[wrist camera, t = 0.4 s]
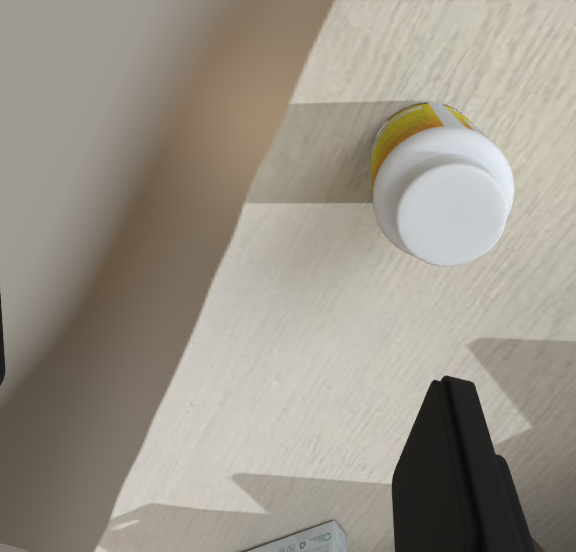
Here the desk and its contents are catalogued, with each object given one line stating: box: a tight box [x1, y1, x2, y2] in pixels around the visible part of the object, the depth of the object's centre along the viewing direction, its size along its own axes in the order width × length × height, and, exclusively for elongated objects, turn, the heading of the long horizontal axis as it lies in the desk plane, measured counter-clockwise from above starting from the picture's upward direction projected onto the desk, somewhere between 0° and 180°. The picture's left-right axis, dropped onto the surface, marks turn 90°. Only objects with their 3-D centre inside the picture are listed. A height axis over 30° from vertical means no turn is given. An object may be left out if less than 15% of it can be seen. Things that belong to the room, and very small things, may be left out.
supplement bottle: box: [371, 102, 514, 266], centre depth 23 cm, size 6×6×10 cm
